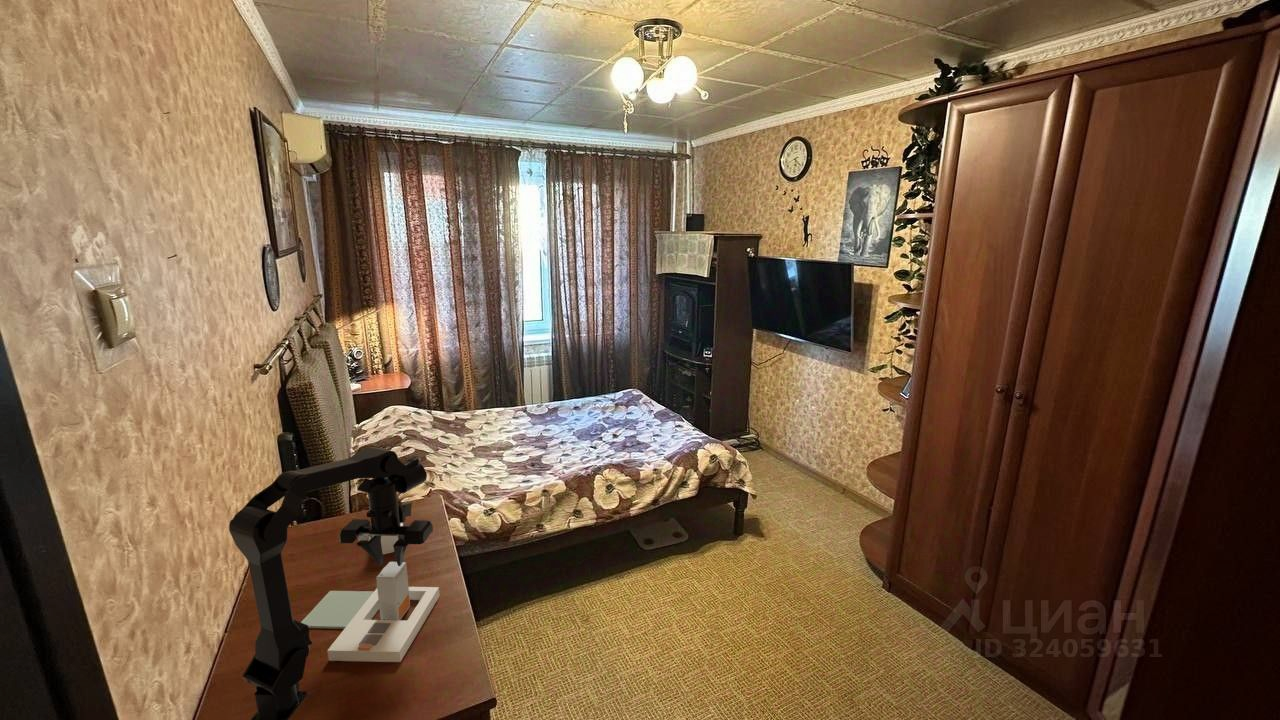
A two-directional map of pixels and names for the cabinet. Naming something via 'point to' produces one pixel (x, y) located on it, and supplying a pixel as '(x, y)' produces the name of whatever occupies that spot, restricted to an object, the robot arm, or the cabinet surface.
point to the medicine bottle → (388, 543)
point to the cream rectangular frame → (382, 630)
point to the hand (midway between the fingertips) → (390, 564)
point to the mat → (336, 609)
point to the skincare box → (393, 591)
